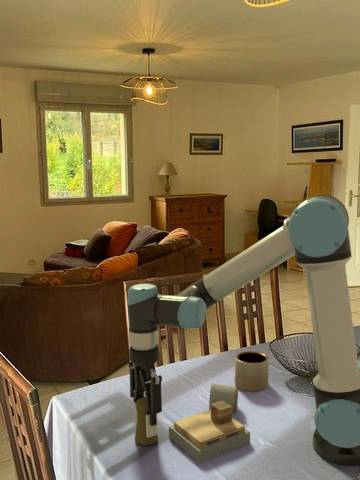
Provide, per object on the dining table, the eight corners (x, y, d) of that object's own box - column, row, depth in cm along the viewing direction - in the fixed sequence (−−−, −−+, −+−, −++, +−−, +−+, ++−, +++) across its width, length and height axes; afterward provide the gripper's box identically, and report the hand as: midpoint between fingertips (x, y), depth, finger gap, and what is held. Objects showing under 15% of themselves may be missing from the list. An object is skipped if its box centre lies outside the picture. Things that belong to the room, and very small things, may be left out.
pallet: (244, 431, 130) (244, 426, 130) (200, 448, 123) (200, 442, 122) (216, 412, 140) (216, 407, 140) (174, 426, 133) (174, 421, 132)
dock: (250, 442, 130) (250, 432, 130) (199, 462, 122) (199, 451, 121) (217, 420, 142) (217, 410, 141) (168, 436, 133) (168, 426, 133)
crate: (231, 420, 133) (232, 406, 132) (219, 424, 131) (219, 410, 130) (222, 414, 136) (222, 400, 135) (210, 418, 134) (210, 404, 133)
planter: (273, 382, 166) (274, 355, 164) (260, 395, 157) (260, 366, 155) (243, 375, 172) (243, 348, 170) (228, 387, 163) (229, 359, 161)
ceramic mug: (237, 417, 144) (237, 391, 143) (208, 415, 145) (208, 389, 144) (238, 400, 154) (238, 376, 153) (211, 398, 155) (211, 375, 154)
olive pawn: (149, 447, 127) (148, 406, 126) (130, 441, 131) (128, 401, 129) (162, 436, 133) (161, 397, 131) (143, 430, 136) (142, 391, 134)
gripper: (175, 352, 122) (177, 441, 126) (139, 332, 137) (142, 412, 141) (148, 359, 118) (150, 451, 122) (114, 338, 133) (117, 420, 137)
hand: (146, 430), depth 131 cm, fingers closed on olive pawn, 5 cm apart
